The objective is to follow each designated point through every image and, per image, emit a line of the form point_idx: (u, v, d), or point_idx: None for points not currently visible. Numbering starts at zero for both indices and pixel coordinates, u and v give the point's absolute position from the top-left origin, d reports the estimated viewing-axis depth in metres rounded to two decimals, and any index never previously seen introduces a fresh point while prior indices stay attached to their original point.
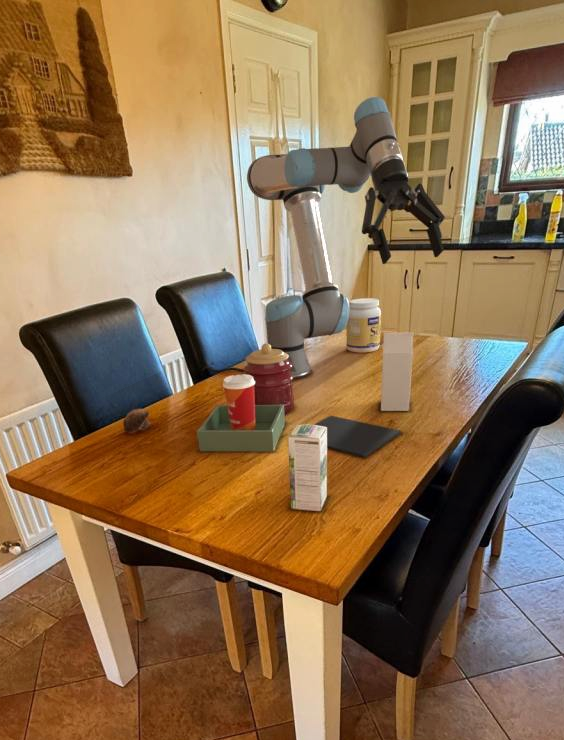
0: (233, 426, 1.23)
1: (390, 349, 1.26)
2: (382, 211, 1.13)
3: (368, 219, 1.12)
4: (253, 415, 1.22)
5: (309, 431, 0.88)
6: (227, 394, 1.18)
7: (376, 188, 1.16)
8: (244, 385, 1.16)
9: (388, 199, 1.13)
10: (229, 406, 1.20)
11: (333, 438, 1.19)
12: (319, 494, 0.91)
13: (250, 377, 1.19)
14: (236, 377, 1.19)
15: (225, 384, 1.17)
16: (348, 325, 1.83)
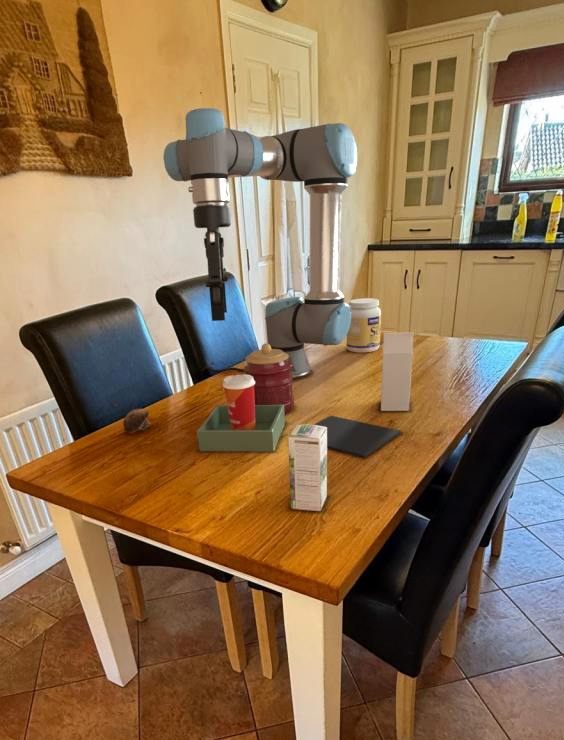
0: (233, 426, 1.23)
1: (390, 349, 1.26)
2: None
3: None
4: (253, 415, 1.22)
5: (309, 431, 0.88)
6: (227, 394, 1.18)
7: None
8: (244, 385, 1.16)
9: None
10: (229, 406, 1.20)
11: (333, 438, 1.19)
12: (319, 494, 0.91)
13: (250, 377, 1.19)
14: (236, 377, 1.19)
15: (225, 384, 1.17)
16: None
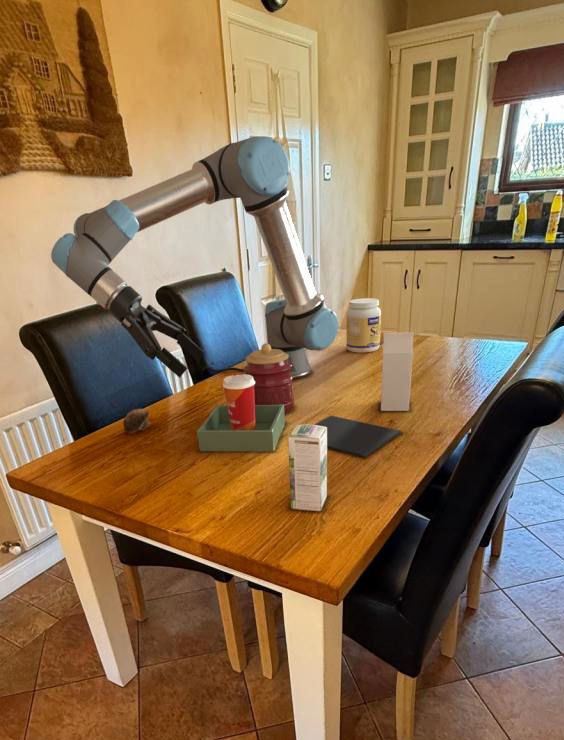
0: (233, 426, 1.23)
1: (390, 349, 1.26)
2: None
3: None
4: (253, 415, 1.22)
5: (309, 431, 0.88)
6: (227, 394, 1.18)
7: None
8: (244, 385, 1.16)
9: None
10: (229, 406, 1.20)
11: (333, 438, 1.19)
12: (319, 494, 0.91)
13: (250, 377, 1.19)
14: (236, 377, 1.19)
15: (225, 384, 1.17)
16: (348, 325, 1.83)
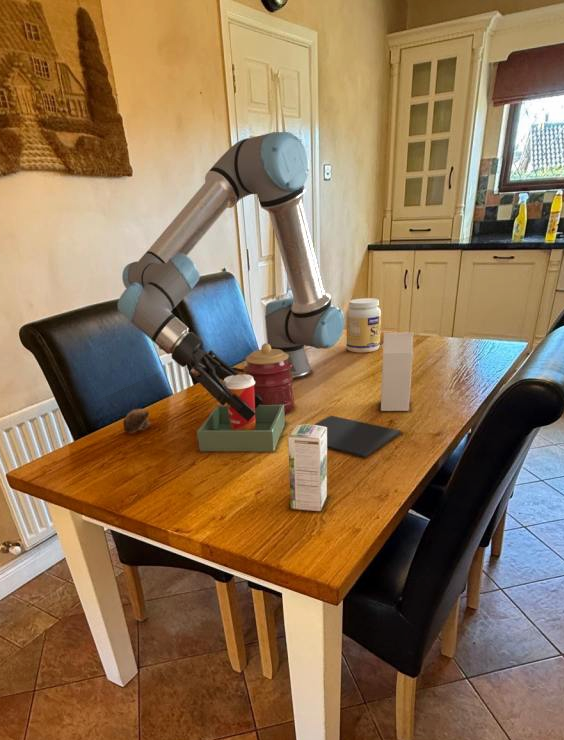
0: (233, 426, 1.23)
1: (390, 349, 1.26)
2: None
3: None
4: None
5: (309, 431, 0.88)
6: None
7: None
8: (244, 385, 1.16)
9: None
10: (229, 406, 1.20)
11: (333, 438, 1.19)
12: (319, 494, 0.91)
13: (250, 377, 1.19)
14: (236, 377, 1.19)
15: (225, 384, 1.17)
16: (348, 325, 1.83)
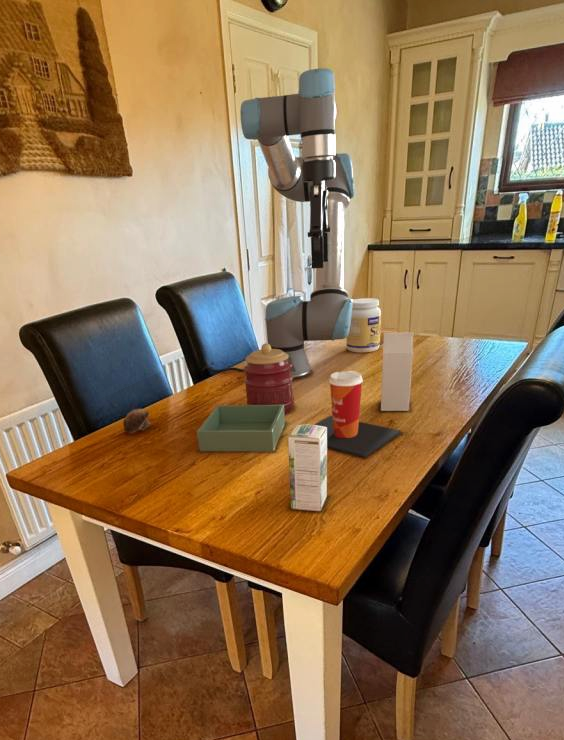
0: (337, 424, 1.18)
1: (390, 349, 1.26)
2: None
3: None
4: (358, 413, 1.17)
5: (309, 431, 0.88)
6: (334, 391, 1.14)
7: None
8: (354, 381, 1.12)
9: None
10: (335, 404, 1.16)
11: (333, 438, 1.19)
12: (319, 494, 0.91)
13: (358, 374, 1.14)
14: (343, 374, 1.15)
15: (333, 381, 1.13)
16: None
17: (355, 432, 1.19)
